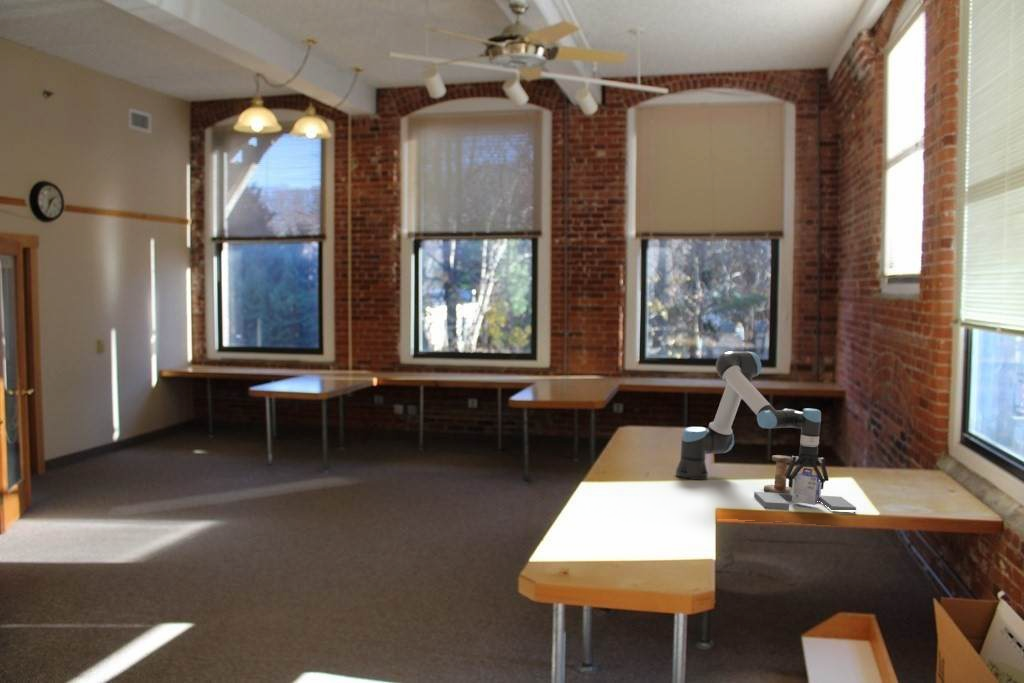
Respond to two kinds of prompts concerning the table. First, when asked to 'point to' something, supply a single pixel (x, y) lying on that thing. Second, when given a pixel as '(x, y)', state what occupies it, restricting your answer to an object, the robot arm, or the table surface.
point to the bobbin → (779, 475)
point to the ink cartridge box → (806, 487)
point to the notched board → (780, 500)
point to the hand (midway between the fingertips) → (805, 495)
